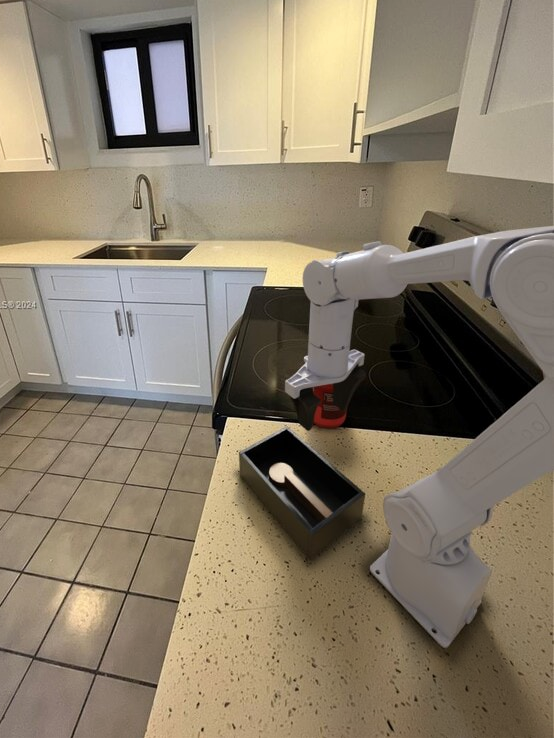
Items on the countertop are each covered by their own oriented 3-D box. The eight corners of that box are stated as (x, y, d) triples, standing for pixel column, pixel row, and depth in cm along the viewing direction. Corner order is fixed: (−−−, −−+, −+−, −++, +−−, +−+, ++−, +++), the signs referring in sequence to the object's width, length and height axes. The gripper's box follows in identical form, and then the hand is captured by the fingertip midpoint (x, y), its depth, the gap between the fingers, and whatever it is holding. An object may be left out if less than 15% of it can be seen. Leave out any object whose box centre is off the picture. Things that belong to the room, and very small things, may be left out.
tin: (361, 518, 51) (365, 493, 49) (310, 560, 46) (312, 534, 44) (286, 447, 63) (287, 425, 61) (239, 474, 58) (238, 452, 56)
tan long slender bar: (340, 521, 50) (342, 510, 49) (320, 537, 48) (321, 526, 47) (282, 462, 60) (282, 453, 59) (263, 474, 58) (263, 464, 57)
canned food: (315, 398, 76) (318, 353, 71) (352, 413, 71) (357, 366, 66) (297, 417, 70) (300, 371, 66) (336, 435, 65) (341, 386, 61)
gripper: (341, 317, 57) (335, 387, 62) (271, 344, 50) (270, 420, 55) (380, 333, 51) (369, 408, 56) (307, 366, 44) (302, 448, 49)
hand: (323, 416), depth 55 cm, fingers open, 7 cm apart
